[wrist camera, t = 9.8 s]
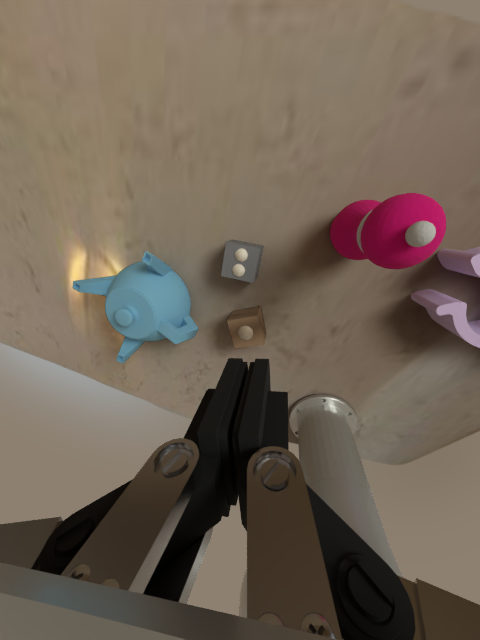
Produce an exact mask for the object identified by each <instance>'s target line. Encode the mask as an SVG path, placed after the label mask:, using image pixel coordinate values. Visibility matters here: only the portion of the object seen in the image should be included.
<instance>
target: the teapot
mask: <svg viewBox="0 0 480 640" xmlns="http://www.w3.org/2000/svg"><path fill="white" fill-rule="evenodd" d="M73 289H75V290H77V291H79V292H85V293H92V294H98V295H105V296H106V300H105V312H106V316H107V318H108V320H109V322H110V324H111V325H112V326H113V328H114V329H115V330H116V331H118V332H119V333H120V334H122V335H124V336H125V339H124V341H123V344H122V346H121V349H120V351H119V353H118V355H117V361H118V362H120V363H122V364H123V363H124V362H125V361H126V360H127V359H128V358H129V357H130V356H131V355H132V354H133V353H134V352H135V351H136V350H137V349H138V348H139V347H140V346H141V345H142V344H143V343H144V342H145V341H158V340H163V339H165V338H168V339H169V340H170V341H172V342H173V343H174V344H178V343H181V342H183V341H186V340H188V339H191V338H194V336H195V334H196V333H197V331H198V327H197V326H196V324H195V323H194V321H193V320H192V318H191V316H190V309H191V302H190V296H189V292H188V289H187V287H186V285H185V284H184V282H183V281H182V279H181V278H180V277H179V276H178V275H177V274H176V273H175V272H174V271H173V270H172V268H171V267H169V266H168V265H166V264H165V263H164V262H162V261H161V260H159V259H158V258H157V257H155V256H154V255H152V254H150V253H149V252H147V251H145V254H144V256H143V259H142V262H137V263H134V264H132V265H130V266H128V267H126V268H125V269H123V270H122V271H121V272H120V273H119V274H118V275H117V276H109V277H101V278H94V279H86V280H78V281H73Z"/></svg>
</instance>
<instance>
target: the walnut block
mask: <svg viewBox="0 0 480 640" xmlns="http://www.w3.org/2000/svg"><path fill="white" fill-rule="evenodd" d="M227 323H228V327H229V330H230V334H231V337H232V341H233V344H234V348H235V349H236V348H243V347H250V346H257V345H263V344H264V343H265V338H266V328H265V324H264V319H263V315H262V311H261V306H257V307H252V308H247V309H241V310H236V311H233V312H232V314H231V315H230V317H229V318H228V320H227Z"/></svg>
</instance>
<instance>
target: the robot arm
mask: <svg viewBox="0 0 480 640" xmlns="http://www.w3.org/2000/svg"><path fill="white" fill-rule="evenodd" d="M289 424H290V428H291V430H292V432H293V433H294V435H295V436H296V437H297V438H298V443H299V459H300V462H299V460H298V459H297V458H296V456H295V455H294V454H292V453H291V452H290V451H288V392H274V391H271V390H270V368H269V359H255V362H250V366H249V369H248V365H247V362H243V360H242V359H239V358H229V359H228V361H227V363H226V366H225V368H224V370H223V373H222V375H221V377H220V380H219V382H218V384H217V387H216V389H208V390H207V391H206V393H205V395H204V397H203V399H202V401H201V403H200V405H199V407H198V409H197V412H196V414H195V416H194V418H193V420H192V422H191V424H190V426H189V428H188V430H187V433H186V434H185V436H184V439H183V438H179V439H173V440H171V441H168V442H166V443H164V444H163V445H161V446H160V447H158V448H157V449H156V450H155V451H154V452H153V454H152V455H151V456H150V458H149V459H148V460H147V462H146V463H145V464H144V466H143V467H142V468H141V469H140V471H139V472H138V474H137V475H136V476H135V478H134V479H133V480H131V481H129V482H127V483H126V484H124V485H122V486H120V487H119V488H117V489H115V490H113V491H112V492H110V493H108V494H107V495H105V496H103V497H101V498H100V499H98V500H96V501H94V502H93V503H91V504H89V505H87V506H86V507H84V508H82V509H81V510H79V511H77V512H75V513H74V514H72V515H71V516H70V517H68V518H67V519H65V520H64V521H63V520H62V518H61V517H55V518H48V519H39V520H31V521H23V522H15V523H8V524H0V640H480V605H478V604H476V603H474V602H471V601H469V600H467V599H464V598H462V597H460V596H457V595H455V594H452V593H450V592H448V591H445V590H443V589H441V588H438V587H436V586H434V585H431V584H429V583H426V582H424V581H422V580H419V579H417V578H416V580H415V583H414V582H412V581H409V580H407V579H405V578H403V576H402V574H401V571H400V569H399V567H398V565H397V562H396V560H395V557H394V555H393V553H392V550H391V548H390V545H389V542H388V540H387V537H386V534H385V531H384V528H383V526H382V523H381V520H380V517H379V514H378V511H377V508H376V505H375V502H374V499H373V496H372V493H371V490H370V487H369V484H368V481H367V477H366V475H365V471H364V469H363V465H362V462H361V459H360V456H359V453H358V450H357V447H356V443H355V440H354V437H353V435H354V433H355V431H356V428H357V419H356V415H355V413H354V411H353V409H352V408H351V406H350V405H349V404H348V403H346V402H345V401H344V400H342V399H340V398H338V397H335V396H332V395H327V394H315V395H310V396H307V397H305V398H303V399H301V400H299V401H298V402H297V403H296V404H295V405H294V406H293V408H292V409H291V412H290V416H289ZM238 495H239V503H240V511H241V520H242V524H243V526H244V528H245V529H246V531H247V570H246V572H245V575H244V578H243V582H242V587H241V594H240V606H239V616H235V615H231V614H227V613H223V612H217V611H213V610H209V609H205V608H200V607H196V606H192V605H187V604H186V603H187V601H188V598H189V595H190V593H191V590H192V587H193V584H194V582H195V579H196V576H197V574H198V571H199V568H200V565H201V562H202V560H203V557H204V555H205V552H206V549H207V547H208V544H209V541H210V538H211V534H212V530H213V526H215V525H216V524H217V523H218V522H219V521H221V517H222V516H226V517H228V516H229V511H230V506H231V505H236V503H237V499H238Z"/></svg>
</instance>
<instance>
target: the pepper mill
mask: <svg viewBox="0 0 480 640" xmlns="http://www.w3.org/2000/svg"><path fill="white" fill-rule="evenodd" d="M445 230H446V217H445V213H444V211H443V209H442V207H441V206H440V205H439V204H438V203H437V202H436V201H435V200H433V199H432V198H430V197H428V196H425V195H423V194H416V193H407V194H401V195H396V196H394V197H391V198H389V199H387V200H385V201H384V202H382V203H380V202H377V201H375V200H361V201H357V202H354V203H352V204H350V205H348V206H347V207H345V208H344V209H343V210H342V211H341V212H340V213H339V214H338V215H337V216H336V218H335V219H334V221H333V222H332V225H331V228H330V239H331V242H332V244H333V246H334V248H335V249H336V251H337V252H338V253H339V254H340V255H342V256H343V257H346V258H348V259H353V260H363V259H369V260H370V261H371V262H373V263H374V264H376V265H378V266H380V267H383V268H388V269H402V268H407V267H412V266H414V265H416V264H418V263H420V262H422V261H424V260H425V259H427V258H428V257H429V256H431V255H432V254H433V253H434V251H435V250H436V249H437V248H438V246H439V245H440V243H441V241H442V239H443V237H444V234H445Z"/></svg>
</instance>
